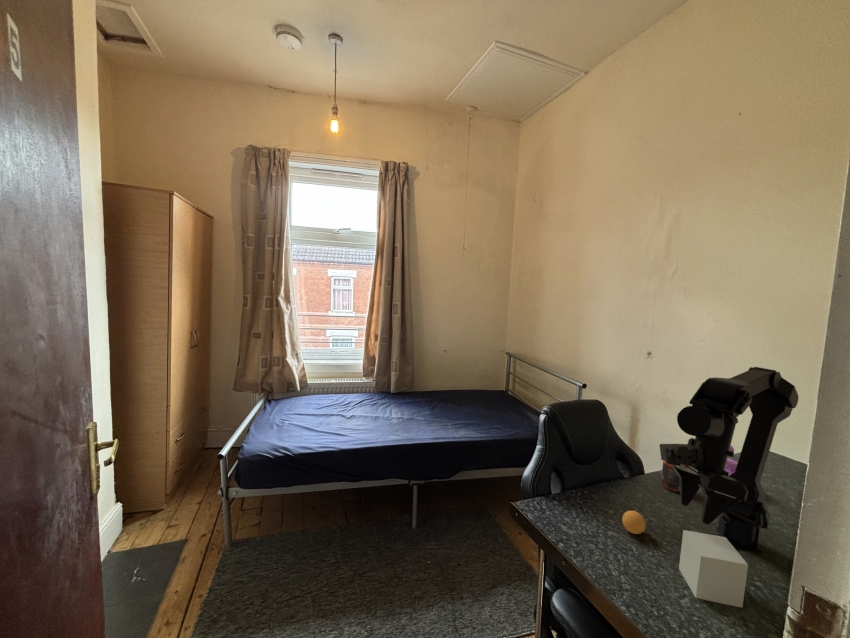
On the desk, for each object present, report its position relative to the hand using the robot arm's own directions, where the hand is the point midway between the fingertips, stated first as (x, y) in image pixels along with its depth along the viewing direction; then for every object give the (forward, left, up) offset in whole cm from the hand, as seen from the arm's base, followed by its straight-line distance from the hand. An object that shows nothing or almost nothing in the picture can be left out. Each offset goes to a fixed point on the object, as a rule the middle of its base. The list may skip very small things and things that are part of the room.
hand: (693, 513), depth 75 cm
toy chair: (-27, -46, -14) cm, 55 cm away
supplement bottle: (-11, -38, -14) cm, 42 cm away
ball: (+7, -12, -11) cm, 18 cm away
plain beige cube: (-3, +2, -14) cm, 14 cm away
